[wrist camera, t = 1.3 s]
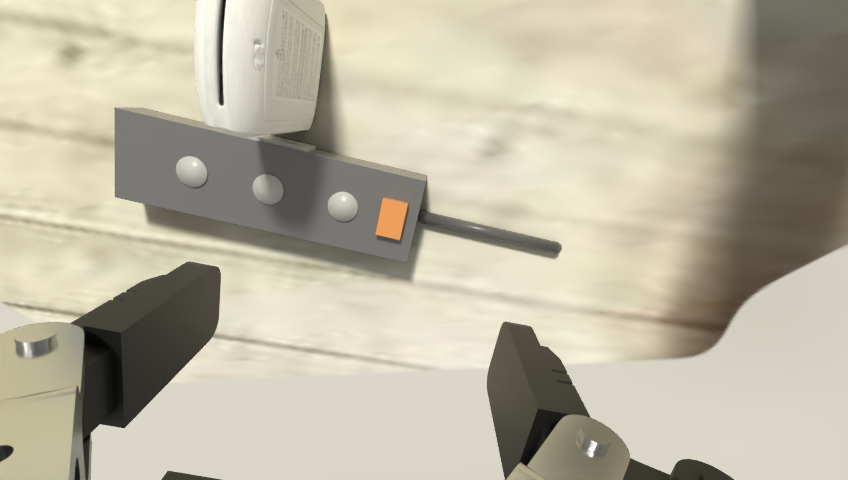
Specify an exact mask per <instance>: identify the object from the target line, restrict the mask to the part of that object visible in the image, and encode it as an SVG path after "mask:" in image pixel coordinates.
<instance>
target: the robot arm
mask: <svg viewBox="0 0 848 480" xmlns="http://www.w3.org/2000/svg"><path fill="white" fill-rule="evenodd" d="M220 282H221V273H220V270H219V268H218V267H215V266H210V265H205V264H199V263H194V262H186V263H184V264H183V265H181V266H180V267H178V268H176V269H175V270H173V271H171V272H170V273H168V274H167V275H161V276H158V277H155V278H151V279H148V280H145V281H142V282H140V283H138V284H137V285H135V286H133V287H132V288H130V289H128V290H127V291H126V293H125V292H123V293H121V294H120V295H118V296H116V297H114V299H113V300H109V301H108V302H106V303H104V304H102V305H101V306H99V307H97V308H96V309H94V310H92V311H91V312H89V313H87V314H85V315H84V316H82V317H80V318H79V319H77V320H75V321H73V322H72V323H63V322H45V323H36V324H30V325H26V326H22V327H18V328H15V329H12V330H9V331H6V332H4V333H2V334H0V480H91V479H90V478H91V450H92V441H91V432H92V431H93V430H94V429H95V428H96V427H97V426H98V425H99V424H103V425H109V426H115V427H121V428H125V427H126V426H127V425H128V424H129V423H130V422H131V421H132V420H133V419H134V418H135V417H136V416H137V415H138V414H139V412H141V410H142V409H143V408H144V407H145V406H146V405H147V404H148V403H149V402H150V401H151V400H152V399H153V398H154V397H155V396H156V395H157V394H158V393H159V392H160V391H161V390H162V389H163V388H164V387H165V386H166V385H167V384H168V383H169V382H170V381H171V380H172V379H173V378H174V377H175V375H176V374H177V373H178V372H179V371H180V370H181V369H182V368H183V367H184V366H185V365H186V364H187V363H188V362H189V361H190V360H191V359H192V358H193V357H194V356H195V355H196V354H197V353H198V352H199V351H200V350H201V349H202V348H203V347H204V346H205V345H206V344H207V343H208V342H209V340H210V339H211V338H212V336H213V335H214V332H215V330H216V328H217V324H218V319H219V302H220ZM487 391H488V397H489V401H490V407H491V412H492V416H493V422H494V427H495V431H496V437H497V441H498V447H499V451H500V457H501V462H502V467H503V472H504V477H505V480H734V479H732V478H731V477H730V476H728V475H727V474H725V473H723V472H722V471H720V470H718V469H717V468H715V467H713V466H711V465H708V464H706V463H703V462H700V461H697V460H691V459H684V460H681V461H678V462H677V463H676V465H675V467H674V469H673V471H672V473H671V475H669V474H666V473H664V472H661V471H659V470H657V469H654V468H652V467H649V466H647V465H644V464H642V463H640V462H637V461H635V460H633V459H631V458H630V454H629V450H628V448H627V446H626V445H625V443H624V442H623V440H622V439H621V438H620V437H619V436H618V435H617V434H616V433H615V432H614V431H613V430H611V429H610V428H609V427H607V426H605V425H604V424H602V423H601V422H599V421H597V420H595V419H592V418H590V416H589V414H588V412H587V410H586V408H585V406H584V404H583V402H582V400H581V398H580V396H579V394H578V392H577V390H576V389H575V387H574V386H573V385H572V381H571V379H570V377H569V375H567V371H566V369H565V367H564V365H563V364H562V362H561V360H560V359H559V358H558V357H557V356H556V355H555V354H554V353H553V352H552V351H551V350H550V349H549V348H548V347H544V346H540V344H539V342H538V340H537V337H536V335H535V333H534V331H533V329H532V327H531V326H526V325H521V324H515V323H510V322H504V323H503V324H502V326H501V329H500V332H499V336H498V339H497V342H496V346H495V349H494V353H493V356H492V360H491V363H490V367H489V371H488V377H487ZM162 480H220V479H214V478H208V477H202V476H196V475H190V474H184V473H178V472H172V471H167V473H166V474H165V476H164V477H163V478H162Z"/></svg>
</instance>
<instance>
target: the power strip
mask: <svg viewBox="0 0 848 480" xmlns="http://www.w3.org/2000/svg"><path fill="white" fill-rule="evenodd" d="M426 179H427V175H423V174H419V173H414V172H410V171H406V170H402V169H397V168H393V167H389V166H385V165H381V164H376V163H372V162H368V161H364V160H360V159H355V158H351V157H347V156H343V155H338V154H334V153H330V152H326V151H322V150H317V149H316V146H314V145H310V144H305V143H301V142H297V141H293V140H289V139H284V138H280V137H276V136H272V135H264V136H255V137H237V136H233V135H230V134H228V133H225V132H224V131H222V130H221V129H219V128H215V127H211V126H208V125H206V124H205V123H203V122H199V121H195V120H191V119H187V118H182V117H178V116H174V115H170V114H166V113H161V112H157V111H153V110H149V109H144V108H115V197H117V198H121V199H125V200H130V201H134V202H139V203H143V204H148V205H152V206H157V207H161V208H165V209H170V210H174V211H179V212H183V213H188V214H192V215H197V216H201V217H205V218H210V219H214V220H219V221H223V222H228V223H232V224H237V225H241V226H245V227H250V228H254V229H259V230H263V231H268V232H272V233H277V234H281V235H285V236H290V237H294V238H299V239H303V240H308V241H312V242H317V243H321V244H325V245H330V246H334V247H339V248H343V249H348V250H352V251H357V252H361V253H365V254H370V255H374V256H379V257H383V258H388V259H392V260H396V261H401V262H405V263H407V261H408V257H409V252H410V248H411V244H412V240H413V235H414V231H415V227H416V223H417V219H418V221H419V222H421V223H425V224H430V225H434V226H438V227H443V228H447V229H451V230H456V231H460V232H464V233H469V234H473V235H477V236H482V237H486V238H490V239H495V240H499V241H503V242H508V243H512V244H516V245H521V246H525V247H529V248H534V249H538V250H542V251H547V252H551V253H559V252H560V251H561V249H562V246H561V244H560V243H558V242H554V241H550V240H545V239H541V238H537V237H532V236H528V235H524V234H519V233H515V232H511V231H507V230H502V229H498V228H494V227H489V226H485V225H481V224H476V223H472V222H468V221H463V220H459V219H455V218H451V217H446V216H442V215H438V214H433V213H429V212H425V211H422V212H420V213H419V210H420V206H421V202H422V197H423V193H424V189H425V185H426Z"/></svg>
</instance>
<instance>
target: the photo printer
mask: <svg viewBox="0 0 848 480" xmlns="http://www.w3.org/2000/svg"><path fill="white" fill-rule="evenodd" d="M324 33H325V9H324V5H323V3H322V2H321V1H320V0H197V2H196V15H195V37H194V58H195V78H196V88H197V96H198V103H199V107H200V111H201V115H202V118H203V121H204V123H205V124H206V125H208V126H211V127H215V128H219V129H221V130H222V131H224V132H225V133H228V134H230V135H233V136H237V137H255V136H264V135H274V134H283V133H292V132H299V131H303V130H309V129H310V128H311V125H312V122H313V119H314V115H315V109H316V103H317V95H318V88H319V80H320V72H321V63H322V54H323V45H324Z"/></svg>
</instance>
